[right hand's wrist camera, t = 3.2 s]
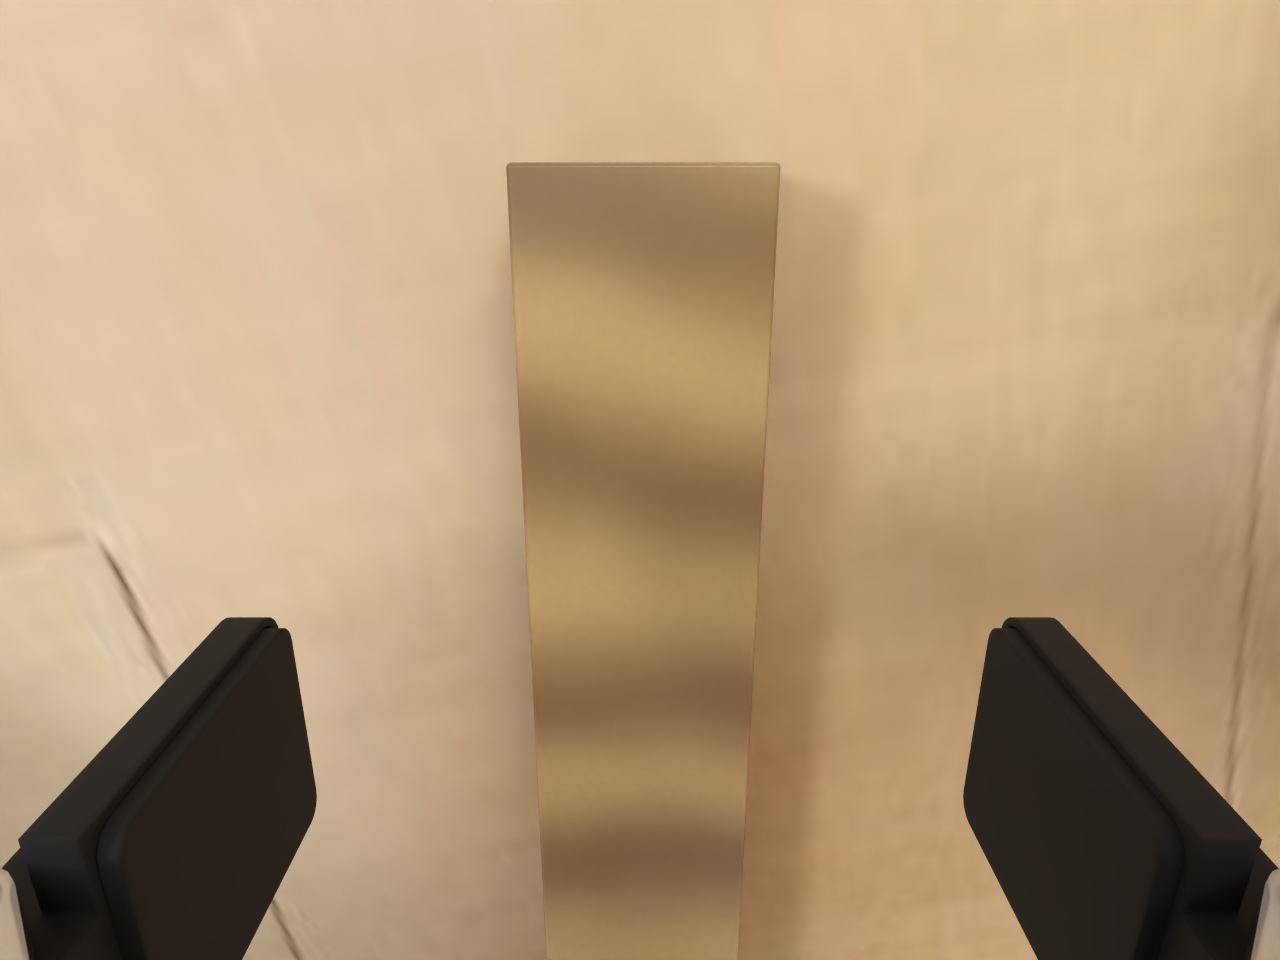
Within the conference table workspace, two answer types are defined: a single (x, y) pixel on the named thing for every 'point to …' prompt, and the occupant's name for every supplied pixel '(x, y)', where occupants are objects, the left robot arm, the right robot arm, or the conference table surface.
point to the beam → (642, 537)
